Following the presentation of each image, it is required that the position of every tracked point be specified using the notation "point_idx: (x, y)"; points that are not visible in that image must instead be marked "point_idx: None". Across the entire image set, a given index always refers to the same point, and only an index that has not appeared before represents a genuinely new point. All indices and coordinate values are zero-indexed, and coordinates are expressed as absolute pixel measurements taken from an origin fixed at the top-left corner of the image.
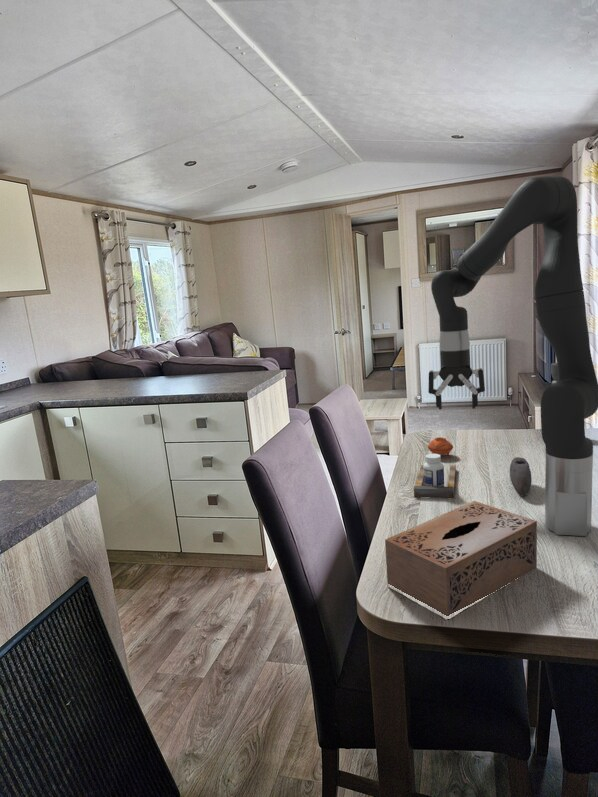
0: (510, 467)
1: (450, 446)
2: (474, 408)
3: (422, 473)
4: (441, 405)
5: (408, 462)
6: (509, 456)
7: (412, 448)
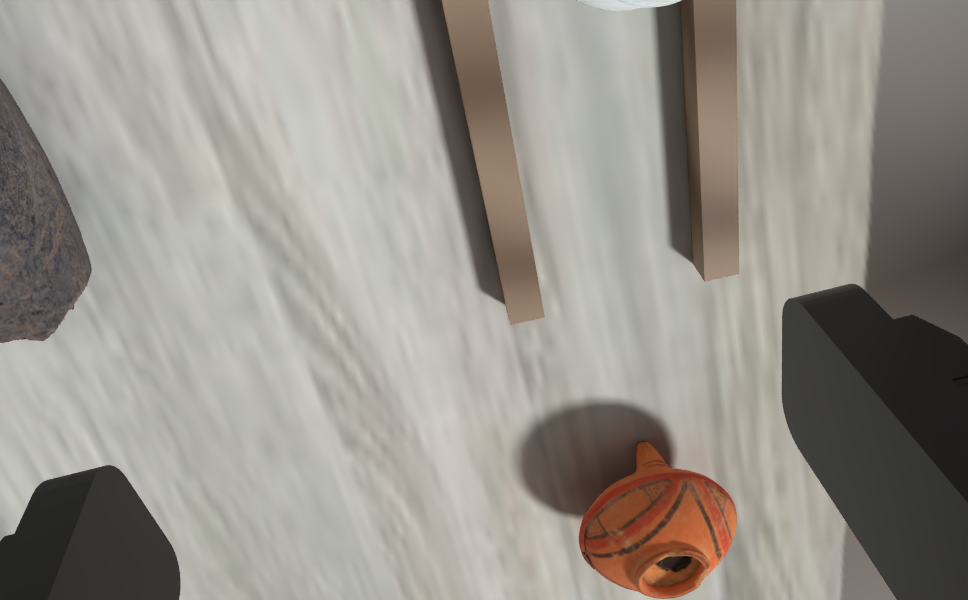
0: (23, 220)
1: (592, 531)
2: (73, 477)
3: (710, 111)
4: (826, 371)
5: None
6: (264, 575)
7: (811, 543)
